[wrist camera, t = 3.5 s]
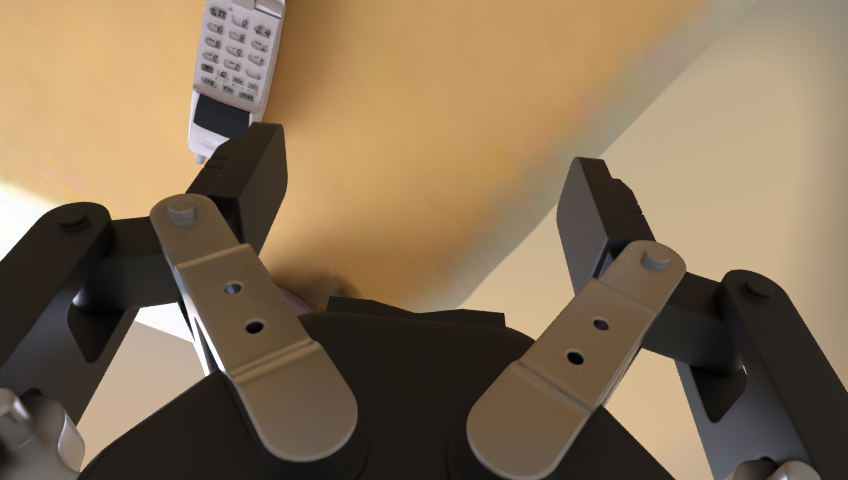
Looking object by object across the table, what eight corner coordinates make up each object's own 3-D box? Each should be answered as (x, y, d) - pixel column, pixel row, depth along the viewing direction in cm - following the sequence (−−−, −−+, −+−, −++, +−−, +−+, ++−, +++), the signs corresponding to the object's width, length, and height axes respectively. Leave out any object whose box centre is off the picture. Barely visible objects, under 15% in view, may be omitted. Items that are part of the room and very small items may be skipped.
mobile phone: (299, -96, 31) (233, 210, 46) (320, -107, 36) (253, 175, 51) (198, -144, 30) (164, 187, 45) (233, -148, 35) (191, 153, 49)
